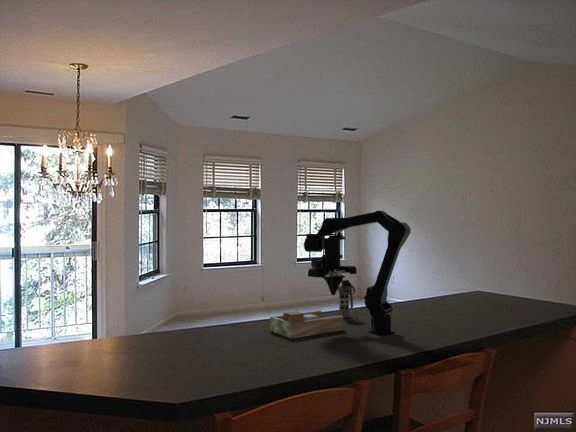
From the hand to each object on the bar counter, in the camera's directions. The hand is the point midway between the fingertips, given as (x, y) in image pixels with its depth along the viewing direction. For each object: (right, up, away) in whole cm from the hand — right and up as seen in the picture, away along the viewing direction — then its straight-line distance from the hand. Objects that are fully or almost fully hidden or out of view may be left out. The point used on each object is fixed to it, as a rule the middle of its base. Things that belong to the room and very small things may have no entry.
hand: (333, 295), depth 185 cm
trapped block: (-9, -12, +1) cm, 15 cm away
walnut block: (-15, -10, -10) cm, 20 cm away
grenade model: (+7, -12, +19) cm, 24 cm away
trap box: (-10, -12, -4) cm, 16 cm away
